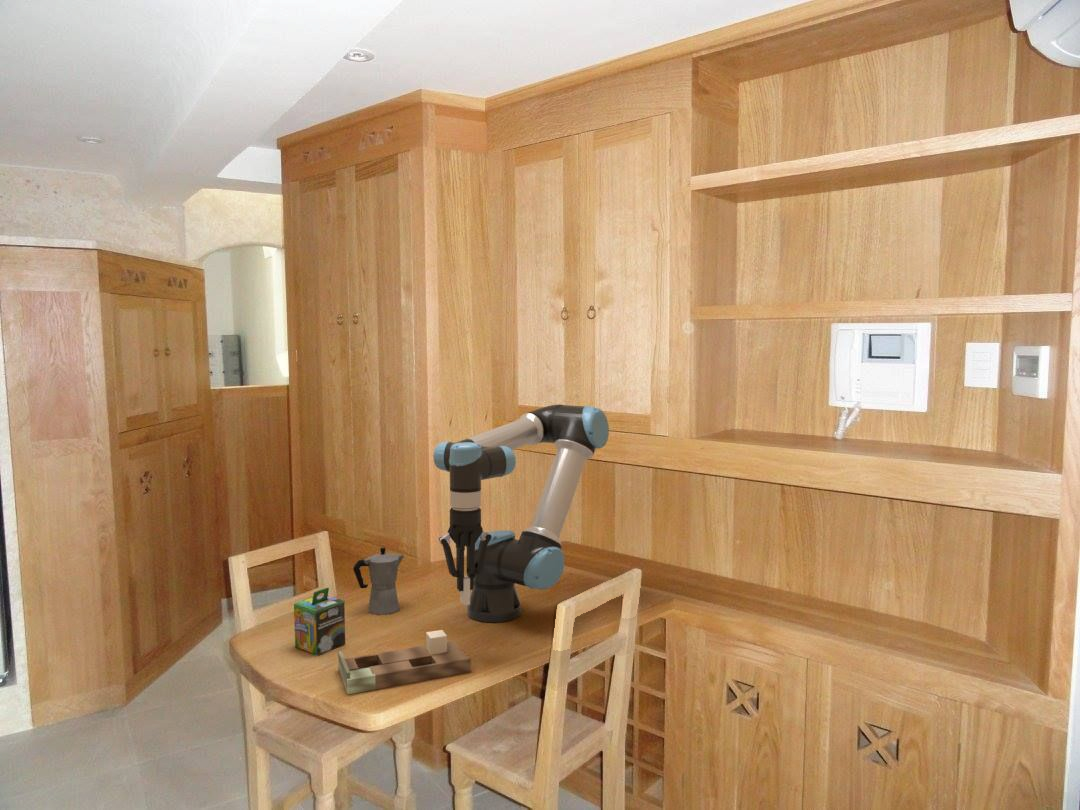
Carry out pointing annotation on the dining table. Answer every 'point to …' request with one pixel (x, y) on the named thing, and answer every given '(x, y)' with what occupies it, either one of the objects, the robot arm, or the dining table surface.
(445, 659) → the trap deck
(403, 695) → the dining table surface
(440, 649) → the ivory block
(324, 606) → the chalk box
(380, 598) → the coffeepot
